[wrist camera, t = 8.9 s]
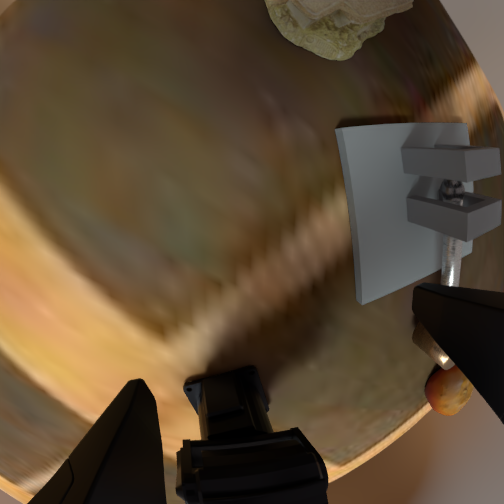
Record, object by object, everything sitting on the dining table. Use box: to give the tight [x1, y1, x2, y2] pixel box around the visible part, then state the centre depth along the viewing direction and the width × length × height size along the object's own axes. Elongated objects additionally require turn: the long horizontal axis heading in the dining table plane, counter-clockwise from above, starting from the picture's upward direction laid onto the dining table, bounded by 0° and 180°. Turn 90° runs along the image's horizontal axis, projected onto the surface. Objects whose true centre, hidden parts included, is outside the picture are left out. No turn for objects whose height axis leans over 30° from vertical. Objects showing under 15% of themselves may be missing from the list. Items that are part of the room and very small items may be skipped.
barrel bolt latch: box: [335, 123, 502, 305], centre depth 18 cm, size 14×16×8 cm
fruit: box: [424, 365, 474, 416], centre depth 29 cm, size 8×8×8 cm
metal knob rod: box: [412, 179, 465, 370], centre depth 20 cm, size 18×4×5 cm, turn 13°
